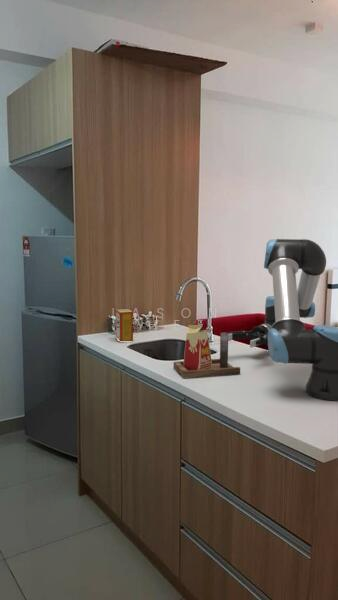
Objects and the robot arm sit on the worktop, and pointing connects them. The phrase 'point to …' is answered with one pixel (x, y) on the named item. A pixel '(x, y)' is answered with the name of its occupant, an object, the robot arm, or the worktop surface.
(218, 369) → the wooden tray
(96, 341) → the worktop surface
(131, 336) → the baking soda box
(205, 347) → the milk carton
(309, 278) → the robot arm
